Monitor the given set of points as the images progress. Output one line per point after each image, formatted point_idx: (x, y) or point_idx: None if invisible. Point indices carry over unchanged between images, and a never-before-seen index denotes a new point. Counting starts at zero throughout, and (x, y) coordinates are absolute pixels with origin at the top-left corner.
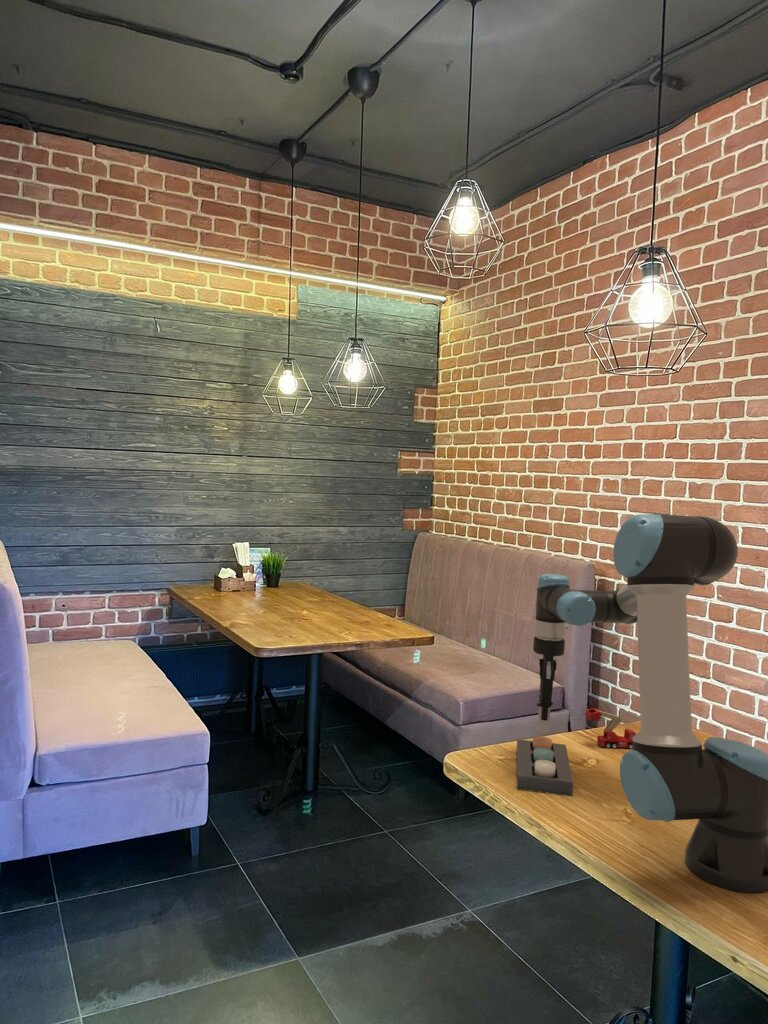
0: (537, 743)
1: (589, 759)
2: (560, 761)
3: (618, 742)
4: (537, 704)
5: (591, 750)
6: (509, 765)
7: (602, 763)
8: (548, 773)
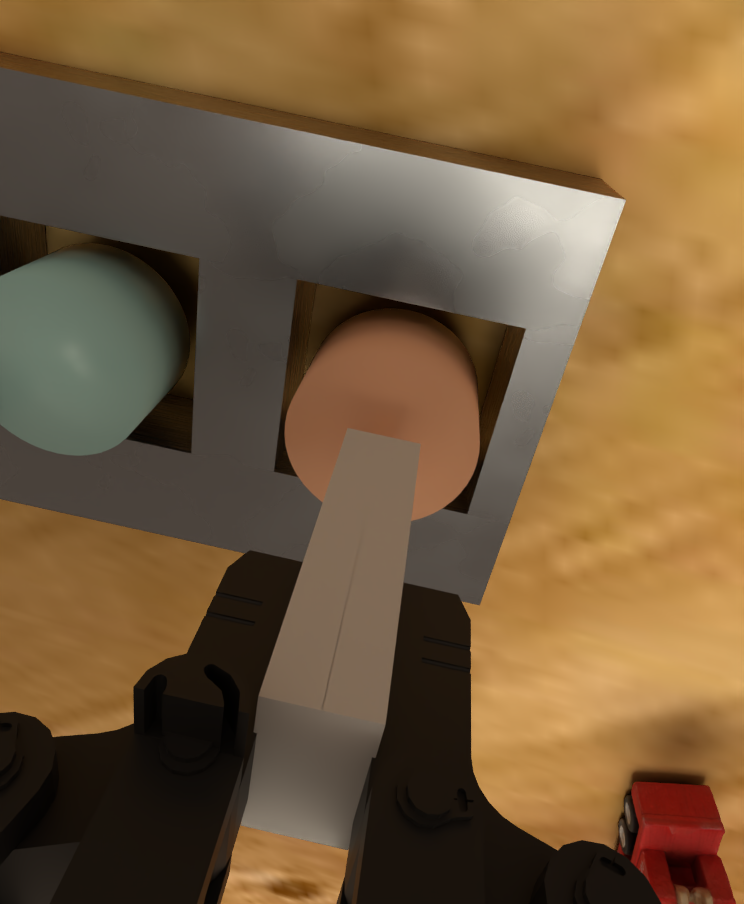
0: (310, 370)
1: None
2: (95, 466)
3: None
4: (138, 692)
5: (594, 717)
6: (204, 14)
7: None
8: None
